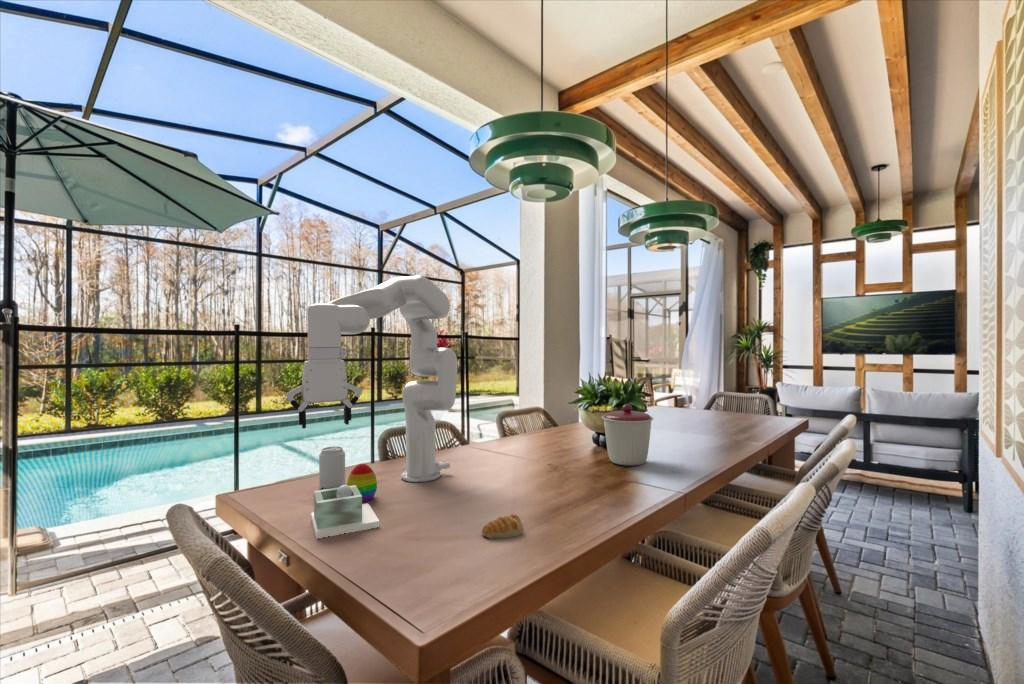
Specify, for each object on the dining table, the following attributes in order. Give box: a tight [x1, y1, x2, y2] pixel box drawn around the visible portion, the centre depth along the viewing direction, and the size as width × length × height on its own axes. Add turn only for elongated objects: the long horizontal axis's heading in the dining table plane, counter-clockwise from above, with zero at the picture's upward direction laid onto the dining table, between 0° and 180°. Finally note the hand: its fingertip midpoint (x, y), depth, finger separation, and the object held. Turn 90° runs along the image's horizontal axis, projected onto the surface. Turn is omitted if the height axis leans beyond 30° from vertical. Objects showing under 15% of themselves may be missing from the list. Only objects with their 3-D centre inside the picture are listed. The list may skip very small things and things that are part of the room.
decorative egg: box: [346, 463, 378, 503], centre depth 133 cm, size 8×8×10 cm
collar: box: [313, 485, 363, 529], centre depth 115 cm, size 10×10×6 cm
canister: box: [601, 403, 654, 467], centre depth 171 cm, size 18×18×21 cm
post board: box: [310, 484, 380, 540], centre depth 116 cm, size 14×14×9 cm
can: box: [318, 445, 346, 490], centre depth 145 cm, size 8×8×12 cm
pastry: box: [481, 514, 525, 540], centre depth 109 cm, size 9×7×4 cm
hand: (325, 425), depth 114 cm, fingers open, 9 cm apart
